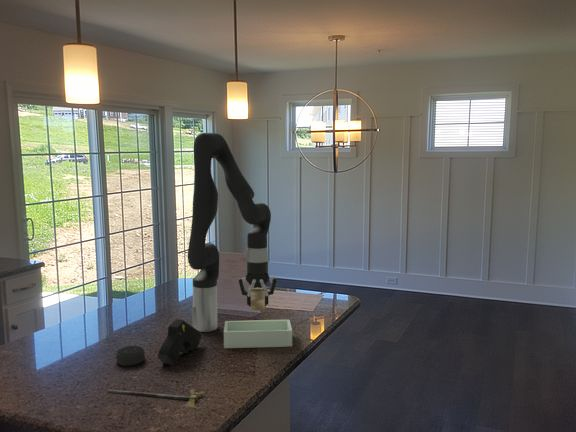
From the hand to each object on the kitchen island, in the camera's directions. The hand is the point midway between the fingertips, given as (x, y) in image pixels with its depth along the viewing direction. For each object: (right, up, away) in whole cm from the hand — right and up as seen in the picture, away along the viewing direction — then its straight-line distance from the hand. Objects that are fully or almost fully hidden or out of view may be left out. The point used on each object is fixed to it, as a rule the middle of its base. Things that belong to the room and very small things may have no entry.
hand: (257, 305), depth 184 cm
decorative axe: (-26, -19, -40) cm, 51 cm away
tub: (0, -13, +2) cm, 13 cm away
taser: (-25, -15, -11) cm, 31 cm away
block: (0, -1, 0) cm, 1 cm away
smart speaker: (-41, -16, -17) cm, 47 cm away
